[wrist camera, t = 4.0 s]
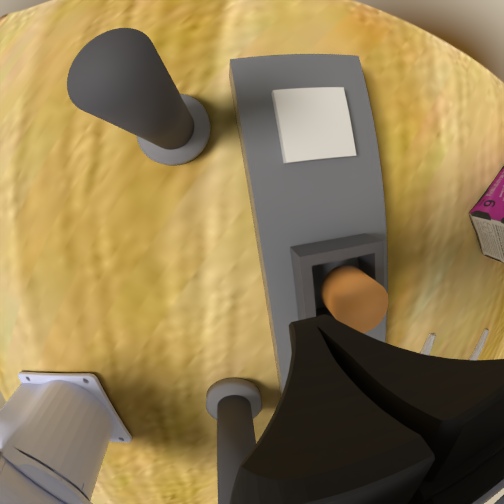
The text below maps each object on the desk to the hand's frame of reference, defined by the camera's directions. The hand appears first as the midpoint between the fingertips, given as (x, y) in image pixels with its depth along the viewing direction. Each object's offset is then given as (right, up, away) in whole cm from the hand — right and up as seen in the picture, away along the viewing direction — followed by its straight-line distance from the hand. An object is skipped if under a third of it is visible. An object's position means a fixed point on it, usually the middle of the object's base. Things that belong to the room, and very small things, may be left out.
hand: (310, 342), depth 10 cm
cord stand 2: (-3, -8, +10) cm, 13 cm away
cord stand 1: (-6, +10, +5) cm, 13 cm away
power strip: (+2, +2, +8) cm, 8 cm away
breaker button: (+2, +1, +4) cm, 5 cm away
